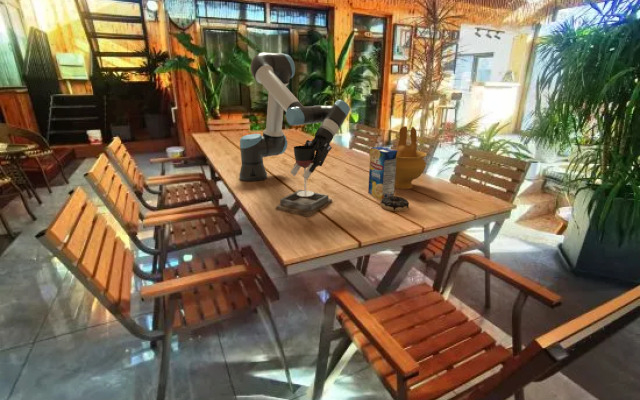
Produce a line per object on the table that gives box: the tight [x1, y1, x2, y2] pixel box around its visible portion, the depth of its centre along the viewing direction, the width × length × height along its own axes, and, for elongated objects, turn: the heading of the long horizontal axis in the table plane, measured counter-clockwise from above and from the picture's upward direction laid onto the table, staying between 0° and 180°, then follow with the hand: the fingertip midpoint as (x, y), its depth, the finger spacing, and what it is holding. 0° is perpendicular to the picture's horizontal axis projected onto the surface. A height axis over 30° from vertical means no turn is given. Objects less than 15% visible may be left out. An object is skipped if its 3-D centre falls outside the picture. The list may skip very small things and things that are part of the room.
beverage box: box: [367, 146, 397, 201], centre depth 153 cm, size 7×11×22 cm, turn 26°
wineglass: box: [293, 144, 316, 196], centre depth 138 cm, size 8×9×20 cm
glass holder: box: [275, 189, 333, 218], centre depth 143 cm, size 16×20×4 cm
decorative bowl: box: [392, 125, 427, 190], centre depth 166 cm, size 21×21×30 cm
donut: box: [379, 195, 410, 212], centre depth 141 cm, size 11×12×4 cm
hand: (298, 176), depth 137 cm, fingers closed on wineglass, 7 cm apart
